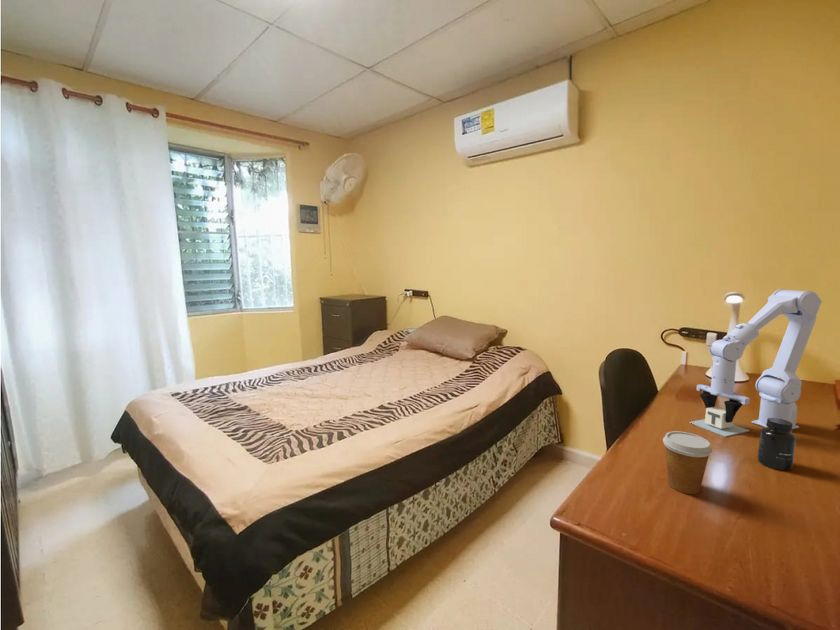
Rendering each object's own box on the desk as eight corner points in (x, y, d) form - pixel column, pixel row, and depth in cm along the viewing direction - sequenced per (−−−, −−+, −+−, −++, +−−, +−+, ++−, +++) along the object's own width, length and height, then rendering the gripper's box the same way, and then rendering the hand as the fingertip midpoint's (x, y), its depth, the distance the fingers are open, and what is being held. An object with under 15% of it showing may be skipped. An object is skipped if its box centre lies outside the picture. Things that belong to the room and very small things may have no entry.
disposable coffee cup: (710, 503, 83) (715, 452, 82) (660, 490, 88) (663, 442, 87) (705, 482, 91) (710, 435, 90) (659, 471, 96) (662, 427, 95)
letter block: (715, 420, 124) (716, 406, 123) (732, 426, 119) (733, 411, 119) (704, 422, 122) (705, 408, 122) (720, 429, 118) (722, 413, 117)
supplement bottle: (785, 474, 94) (791, 428, 92) (752, 461, 100) (756, 419, 98) (797, 467, 97) (802, 423, 96) (764, 455, 103) (768, 413, 102)
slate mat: (712, 418, 128) (712, 417, 128) (749, 431, 118) (749, 430, 118) (689, 422, 125) (689, 422, 125) (725, 437, 114) (725, 436, 114)
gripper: (691, 373, 125) (688, 412, 126) (740, 386, 111) (735, 429, 113) (706, 370, 127) (702, 409, 129) (755, 383, 113) (751, 425, 115)
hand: (719, 418), depth 121 cm, fingers closed on letter block, 5 cm apart
